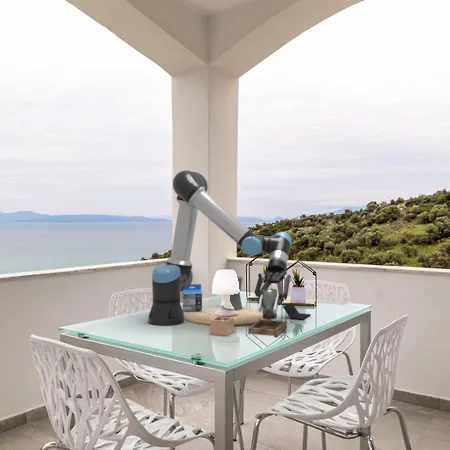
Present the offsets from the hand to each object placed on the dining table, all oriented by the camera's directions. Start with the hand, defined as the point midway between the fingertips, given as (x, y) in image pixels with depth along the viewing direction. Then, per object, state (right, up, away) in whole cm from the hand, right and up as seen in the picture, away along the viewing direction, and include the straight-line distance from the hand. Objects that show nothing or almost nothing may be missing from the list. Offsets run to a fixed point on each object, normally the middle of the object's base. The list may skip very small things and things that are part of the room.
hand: (267, 310), depth 199 cm
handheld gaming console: (+16, -8, +29) cm, 34 cm away
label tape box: (-32, -7, +43) cm, 54 cm away
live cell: (+1, -3, +4) cm, 5 cm away
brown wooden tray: (+1, -8, +3) cm, 9 cm away
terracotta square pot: (-17, -9, -2) cm, 19 cm away
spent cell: (-17, -8, -2) cm, 19 cm away
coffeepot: (-13, -7, +50) cm, 52 cm away
